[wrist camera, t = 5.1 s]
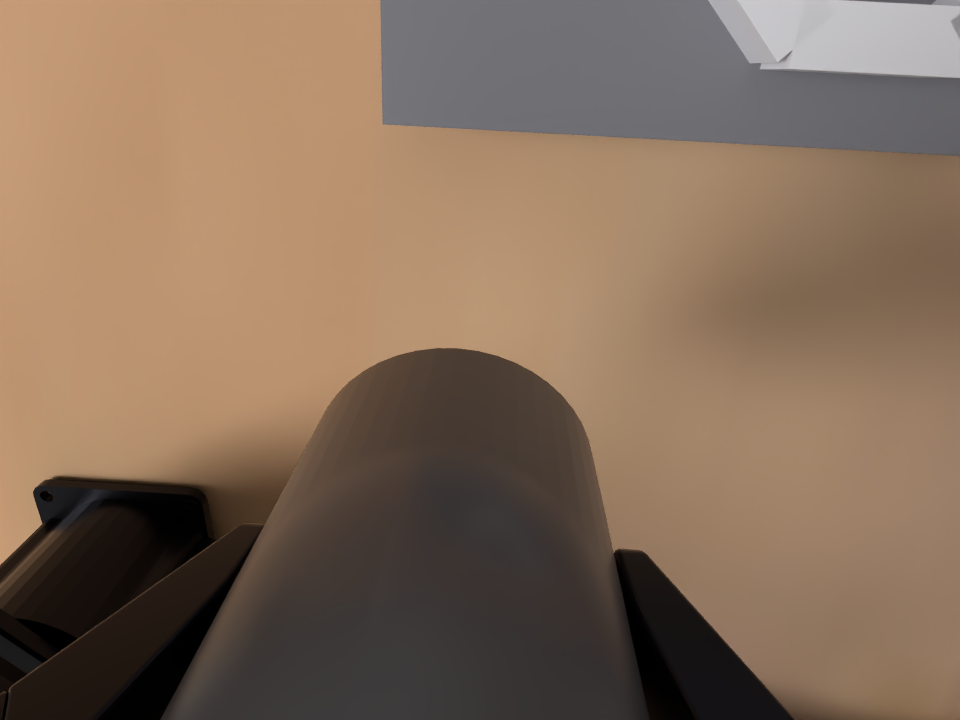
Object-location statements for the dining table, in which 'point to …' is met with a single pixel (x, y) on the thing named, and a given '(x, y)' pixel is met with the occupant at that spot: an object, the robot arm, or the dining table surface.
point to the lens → (428, 564)
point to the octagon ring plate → (681, 70)
